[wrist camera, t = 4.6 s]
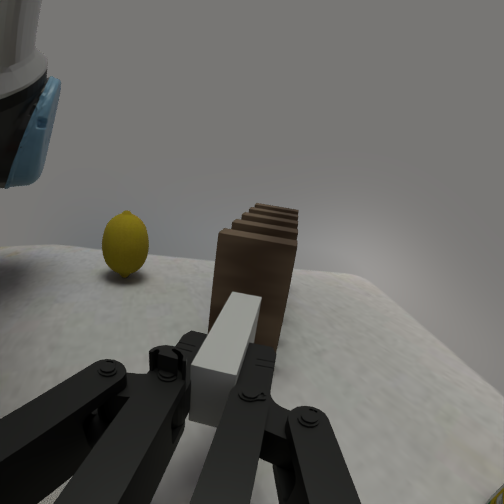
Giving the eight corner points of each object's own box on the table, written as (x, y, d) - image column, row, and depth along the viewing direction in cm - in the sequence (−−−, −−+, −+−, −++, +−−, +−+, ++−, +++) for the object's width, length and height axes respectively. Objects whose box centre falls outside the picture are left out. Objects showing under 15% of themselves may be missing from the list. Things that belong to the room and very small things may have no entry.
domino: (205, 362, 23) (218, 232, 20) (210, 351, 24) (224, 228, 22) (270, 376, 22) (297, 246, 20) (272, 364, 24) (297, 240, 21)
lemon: (104, 268, 37) (106, 205, 35) (146, 270, 39) (150, 207, 37) (99, 285, 32) (99, 214, 30) (147, 287, 34) (151, 216, 32)
